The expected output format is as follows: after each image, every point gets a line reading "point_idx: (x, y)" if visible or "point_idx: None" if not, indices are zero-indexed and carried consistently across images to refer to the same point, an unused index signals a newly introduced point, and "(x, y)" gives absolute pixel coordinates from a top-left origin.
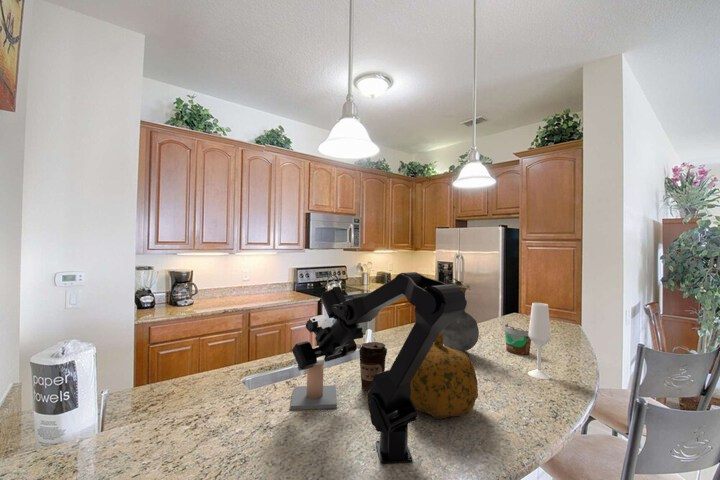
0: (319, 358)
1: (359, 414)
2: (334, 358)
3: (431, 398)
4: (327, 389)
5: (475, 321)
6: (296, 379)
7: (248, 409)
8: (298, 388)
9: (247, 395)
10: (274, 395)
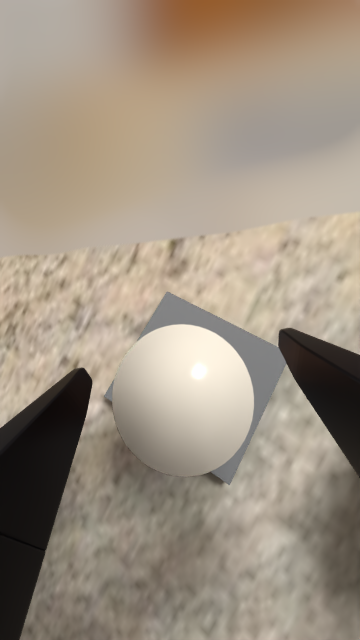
0: (210, 406)
1: (278, 576)
2: (347, 455)
3: None
4: (249, 366)
5: None
6: (202, 238)
7: (36, 331)
8: (171, 309)
9: (64, 265)
10: (113, 297)
